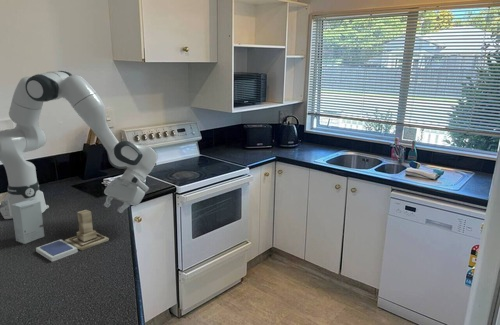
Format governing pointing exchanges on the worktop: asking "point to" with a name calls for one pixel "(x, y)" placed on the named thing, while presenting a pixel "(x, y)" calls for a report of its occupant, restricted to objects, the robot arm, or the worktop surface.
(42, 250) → the ink pad
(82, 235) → the stamp
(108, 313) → the worktop surface
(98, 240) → the box board
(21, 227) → the skincare box
